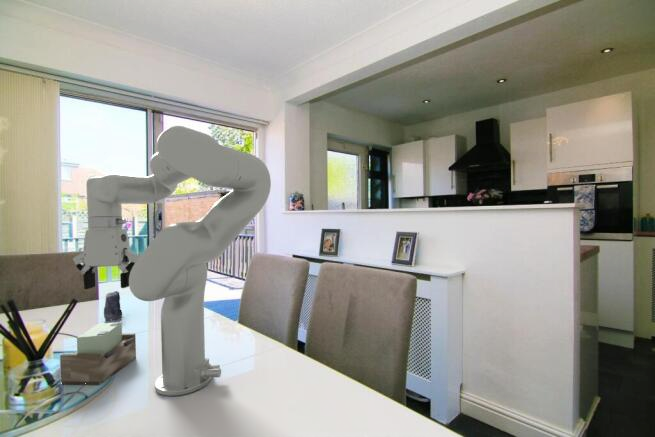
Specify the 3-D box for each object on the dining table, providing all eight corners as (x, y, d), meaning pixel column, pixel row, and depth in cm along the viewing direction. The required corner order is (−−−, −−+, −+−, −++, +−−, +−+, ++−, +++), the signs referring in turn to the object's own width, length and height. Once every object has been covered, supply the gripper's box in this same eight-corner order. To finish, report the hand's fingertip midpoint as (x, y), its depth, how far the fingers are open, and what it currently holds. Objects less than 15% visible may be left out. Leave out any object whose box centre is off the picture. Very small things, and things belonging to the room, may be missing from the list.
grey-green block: (104, 355, 80) (104, 334, 80) (77, 357, 79) (76, 336, 79) (122, 339, 90) (121, 321, 90) (98, 341, 89) (97, 323, 88)
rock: (121, 320, 125) (120, 293, 125) (103, 323, 122) (103, 296, 122) (122, 313, 134) (121, 289, 134) (106, 316, 131) (105, 290, 131)
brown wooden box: (103, 358, 92) (102, 333, 92) (139, 358, 91) (139, 333, 91) (60, 384, 78) (60, 355, 78) (103, 384, 77) (102, 355, 77)
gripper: (145, 222, 89) (147, 283, 90) (84, 224, 90) (86, 285, 90) (128, 223, 82) (131, 290, 82) (61, 225, 82) (64, 291, 82)
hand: (107, 287), depth 86 cm, fingers open, 9 cm apart
